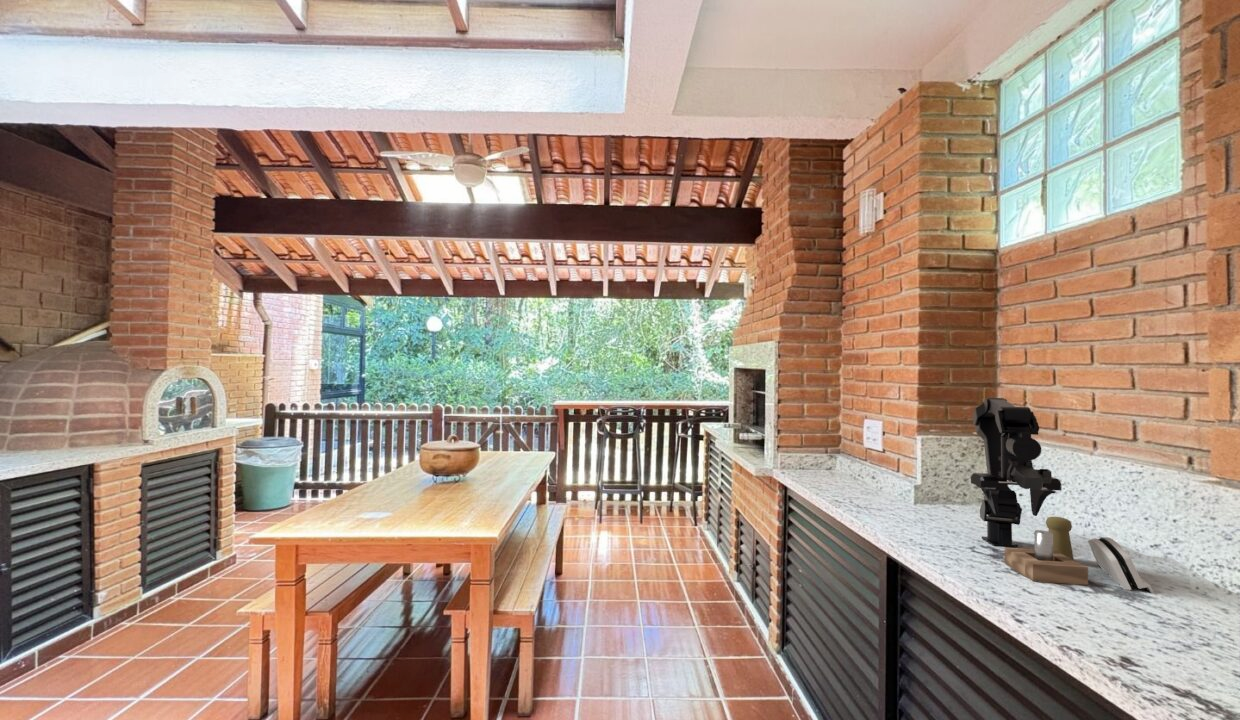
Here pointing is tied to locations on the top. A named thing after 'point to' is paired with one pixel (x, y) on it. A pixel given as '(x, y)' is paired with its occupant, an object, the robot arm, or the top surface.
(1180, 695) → the top surface
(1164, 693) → the top surface
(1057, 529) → the cork
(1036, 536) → the grey metal peg
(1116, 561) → the grey black curved wedge
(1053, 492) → the robot arm
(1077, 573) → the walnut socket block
